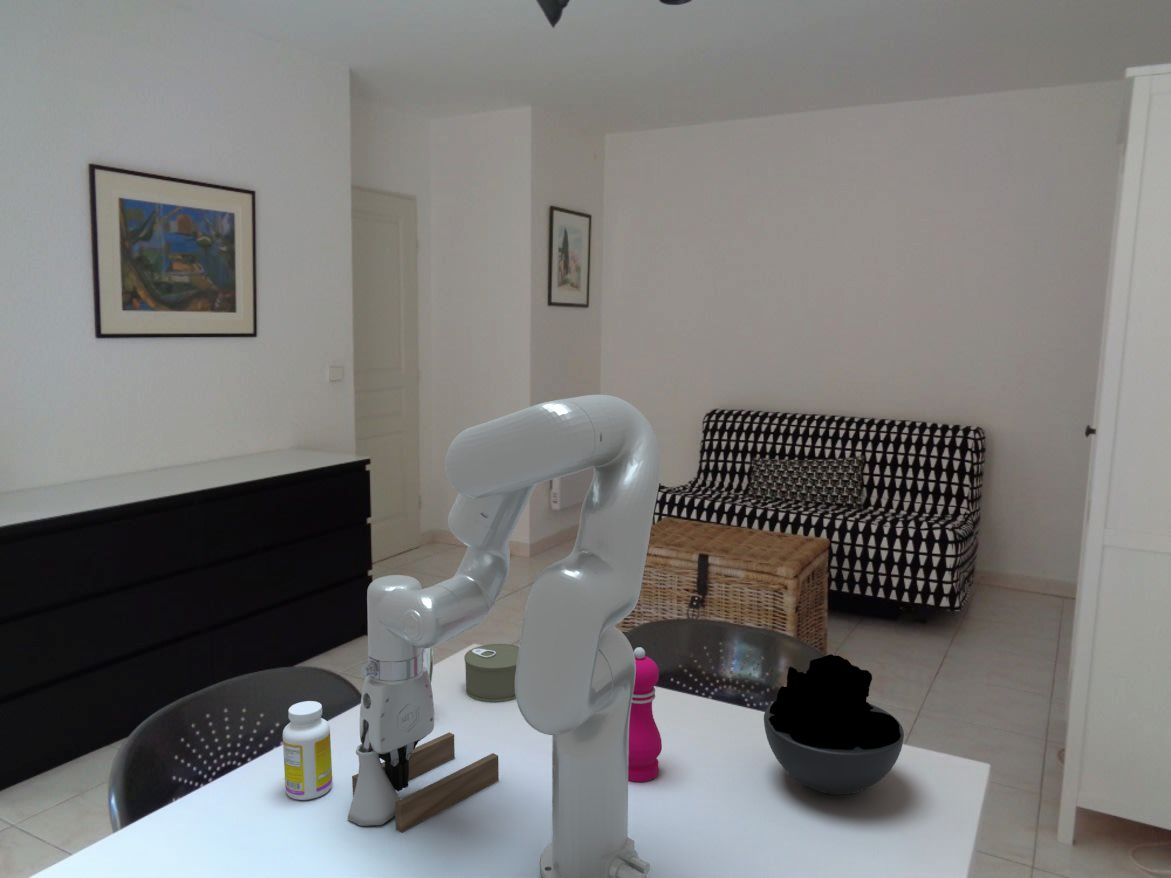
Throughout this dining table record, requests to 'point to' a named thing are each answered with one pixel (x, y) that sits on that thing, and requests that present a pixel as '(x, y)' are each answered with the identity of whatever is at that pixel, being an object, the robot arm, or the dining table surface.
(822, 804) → the dining table surface
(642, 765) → the pepper mill
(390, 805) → the flask
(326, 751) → the supplement bottle
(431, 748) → the chute
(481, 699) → the can
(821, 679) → the bowl of black rocks
